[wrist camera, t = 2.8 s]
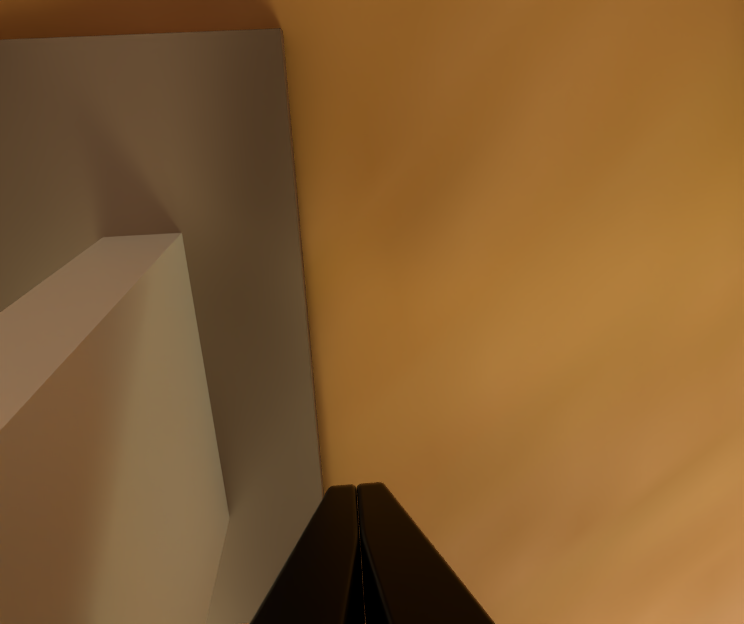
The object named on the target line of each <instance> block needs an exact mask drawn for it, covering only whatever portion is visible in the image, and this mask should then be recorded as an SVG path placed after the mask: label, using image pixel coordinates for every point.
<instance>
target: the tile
mask: <svg viewBox="0 0 744 624" xmlns="http://www.w3.org/2000/svg"><path fill="white" fill-rule="evenodd" d="M228 522H229V512H228V506H227V500H226V494H225V488H224V482H223V476H222V470H221V464H220V458H219V452H218V446H217V440H216V434H215V428H214V422H213V416H212V410H211V404H210V398H209V392H208V386H207V381H206V375H205V369H204V363H203V357H202V351H201V345H200V339H199V333H198V327H197V321H196V315H195V309H194V303H193V297H192V291H191V285H190V279H189V273H188V267H187V261H186V255H185V249H184V243H183V237H182V233H169V234H151V235H133V236H115V237H103V238H101V239H100V240H99V241H97V242H96V243H94V244H93V245H92V246H90V247H89V248H88V249H86V250H85V251H83V252H82V253H81V254H79V255H78V256H77V257H75V258H74V259H73V260H71V261H70V262H68V263H67V264H66V265H64V266H63V267H62V268H60V269H59V270H58V271H56V272H55V273H53V274H52V275H51V276H49V277H48V278H47V279H45V280H44V281H43V282H41V283H40V284H38V285H37V286H36V287H34V288H33V289H32V290H30V291H29V292H28V293H26V294H25V295H23V296H22V297H21V298H19V299H18V300H17V301H15V302H14V303H12V304H11V305H10V306H8V307H7V308H6V309H4V310H3V311H2V312H0V624H206V619H207V615H208V611H209V606H210V602H211V597H212V593H213V589H214V584H215V580H216V575H217V571H218V566H219V562H220V558H221V553H222V549H223V544H224V540H225V536H226V531H227V527H228Z"/></svg>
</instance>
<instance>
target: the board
mask: <svg viewBox="0 0 744 624" xmlns="http://www.w3.org/2000/svg"><path fill="white" fill-rule="evenodd" d="M169 233H182V237H183V243H184V249H185V255H186V261H187V267H188V273H189V279H190V285H191V291H192V297H193V303H194V309H195V315H196V321H197V327H198V333H199V339H200V345H201V351H202V357H203V363H204V369H205V375H206V381H207V386H208V392H209V398H210V404H211V410H212V416H213V422H214V428H215V434H216V440H217V446H218V452H219V458H220V464H221V470H222V476H223V482H224V488H225V494H226V500H227V506H228V512H229V522H228V527H227V531H226V536H225V540H224V544H223V549H222V553H221V558H220V562H219V566H218V571H217V575H216V580H215V584H214V589H213V593H212V597H211V602H210V606H209V611H208V615H207V619H206V624H245V623H250V622H251V620H252V618H253V617H254V615H255V613H256V611H257V610H258V608H259V606H260V605H261V603H262V601H263V600H264V598H265V596H266V594H267V593H268V591H269V589H270V588H271V586H272V584H273V582H274V581H275V579H276V577H277V576H278V574H279V572H280V571H281V569H282V567H283V565H284V564H285V562H286V560H287V559H288V557H289V555H290V553H291V552H292V550H293V548H294V547H295V545H296V543H297V542H298V540H299V538H300V536H301V535H302V533H303V531H304V530H305V528H306V526H307V524H308V523H309V521H310V519H311V518H312V516H313V514H314V513H315V511H316V509H317V507H318V506H319V504H320V502H321V501H322V499H323V497H324V490H323V479H322V468H321V456H320V445H319V434H318V423H317V411H316V400H315V389H314V377H313V366H312V355H311V344H310V332H309V321H308V310H307V298H306V287H305V276H304V265H303V253H302V242H301V231H300V219H299V208H298V197H297V186H296V174H295V163H294V152H293V140H292V129H291V118H290V107H289V95H288V84H287V73H286V61H285V50H284V39H283V30H281V29H280V28H279V29H254V30H230V31H205V32H180V33H155V34H130V35H105V36H80V37H55V38H30V39H6V40H0V312H2V311H3V310H4V309H6V308H7V307H8V306H10V305H11V304H12V303H14V302H15V301H17V300H18V299H19V298H21V297H22V296H23V295H25V294H26V293H28V292H29V291H30V290H32V289H33V288H34V287H36V286H37V285H38V284H40V283H41V282H43V281H44V280H45V279H47V278H48V277H49V276H51V275H52V274H53V273H55V272H56V271H58V270H59V269H60V268H62V267H63V266H64V265H66V264H67V263H68V262H70V261H71V260H73V259H74V258H75V257H77V256H78V255H79V254H81V253H82V252H83V251H85V250H86V249H88V248H89V247H90V246H92V245H93V244H94V243H96V242H97V241H99V240H100V239H101V238H103V237H115V236H133V235H151V234H169Z"/></svg>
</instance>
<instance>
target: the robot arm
mask: <svg viewBox="0 0 744 624" xmlns="http://www.w3.org/2000/svg"><path fill="white" fill-rule="evenodd" d="M357 500H358V504H357ZM358 515H359V519H358ZM359 530H360V534H359ZM360 545H361V549H360ZM361 560H362V565H361ZM362 575H363V580H362ZM363 590H364V595H363ZM364 605H365V610H364ZM365 620H366V624H495V623H494V621H493V620H492V619H491V618H490V616H489V615H488V614H487V613H486V611H485V610H484V609H483V608H482V606H481V605H480V604H479V603H478V601H477V600H476V599H475V598H474V596H473V595H472V594H471V593H470V591H469V590H468V589H467V588H466V586H465V585H464V584H463V582H462V581H461V580H460V579H459V577H458V576H457V575H456V574H455V572H454V571H453V570H452V569H451V567H450V566H449V565H448V564H447V562H446V561H445V560H444V559H443V557H442V556H441V555H440V554H439V552H438V551H437V550H436V549H435V547H434V546H433V545H432V544H431V542H430V541H429V540H428V539H427V537H426V536H425V535H424V533H423V532H422V531H421V530H420V528H419V527H418V526H417V525H416V523H415V522H414V521H413V520H412V518H411V517H410V516H409V515H408V513H407V512H406V511H405V510H404V508H403V507H402V506H401V505H400V503H399V502H398V501H397V500H396V498H395V497H394V496H393V495H392V493H391V492H390V491H389V489H388V488H387V487H386V486H385V485H384V484H383V483H381V482H376V483H363V484H359V485H358V486H357V490H356V487H355V486H354V485H352V484H351V485H338V486H331V487H330V488H329V489H328V490H327V492H326V494H325V495H324V497H323V499H322V501H321V502H320V504H319V506H318V507H317V509H316V511H315V513H314V514H313V516H312V518H311V519H310V521H309V523H308V524H307V526H306V528H305V530H304V531H303V533H302V535H301V536H300V538H299V540H298V542H297V543H296V545H295V547H294V548H293V550H292V552H291V553H290V555H289V557H288V559H287V560H286V562H285V564H284V565H283V567H282V569H281V571H280V572H279V574H278V576H277V577H276V579H275V581H274V582H273V584H272V586H271V588H270V589H269V591H268V593H267V594H266V596H265V598H264V600H263V601H262V603H261V605H260V606H259V608H258V610H257V611H256V613H255V615H254V617H253V618H252V620H251V622H250V623H249V624H365Z"/></svg>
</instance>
